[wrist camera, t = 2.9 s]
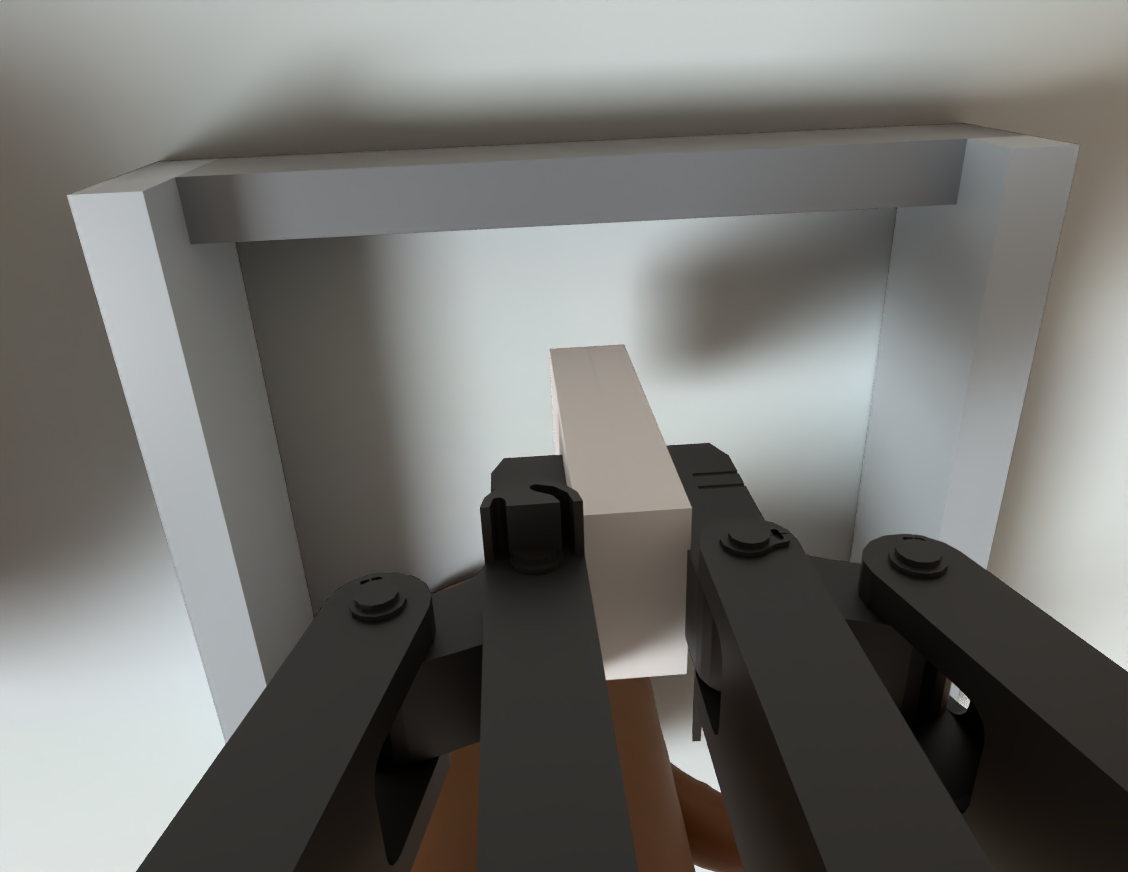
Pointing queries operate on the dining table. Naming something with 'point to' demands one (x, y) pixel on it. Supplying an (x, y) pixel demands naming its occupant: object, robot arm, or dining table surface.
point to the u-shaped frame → (545, 198)
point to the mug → (652, 787)
